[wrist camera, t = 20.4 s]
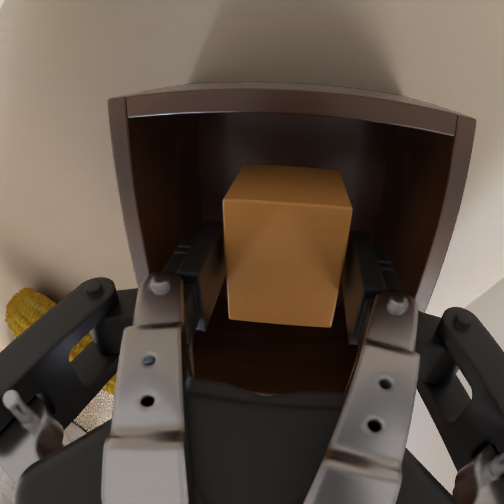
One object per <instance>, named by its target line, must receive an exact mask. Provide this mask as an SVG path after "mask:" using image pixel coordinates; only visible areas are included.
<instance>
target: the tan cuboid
mask: <svg viewBox="0 0 504 504" xmlns="http://www.w3.org/2000/svg"><path fill="white" fill-rule="evenodd" d="M352 211H353V209H352V206H351V203H350V200H349V197H348V194H347V191H346V188H345V185H344V183H343V180H342V177H341V174H340V171H339V170H333V169H322V168H309V167H294V166H277V165H255V164H244V165H243V167H242V168H241V170H240V172H239V173H238V175H237V177H236V178H235V180H234V182H233V183H232V185H231V187H230V188H229V190H228V192H227V193H226V195H225V197H224V199H223V224H224V244H225V263H226V280H227V297H228V313H229V319H232V320H241V321H251V322H262V323H273V324H285V325H298V326H312V327H327V328H329V327H331V326H332V321H333V317H334V312H335V307H336V303H337V298H338V293H339V288H340V282H341V277H342V272H343V266H344V261H345V255H346V249H347V243H348V237H349V231H350V224H351V217H352Z"/></svg>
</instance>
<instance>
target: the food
mask: <svg viewBox="0 0 504 504" xmlns="http://www.w3.org/2000/svg"><path fill="white" fill-rule="evenodd" d="M55 305H56V303H55V302H53V301H52V300H51V299H50V298H48V297H46V296H45V295H43V294H41V293H39V292H37V291H35V290H33V289H31V288H24V289H23V290H20V291H19V293H16V294H15V295H14V296H13V297H12V299H11V300H10V301H9V303H8V304H7V306H6V319H5V320H6V321H7V323H8V326H9V328H10V330H11V331H12V332H13V334H14V335H15V336H16V337H18V336H19V335H20V334H22V333H23V332H24V331H25V330H26V329H27V328H29V327H30V326H31V325H32V324H33V323H34V322H36V321H37V320H38V319H39V318H40V317H41V316H43V315H44V314H45V313H46V312H47V311H49V310H50V309H51V308H52V307H54V306H55ZM92 341H93V339H92V336H91V334H90V332H89V333H88V334H87V335H86V336H84V337H83V338H82V339H81V340H80V341H79V342H78V343H77V344H76V345H75V346H74V347H73V348H72V349H71V351H70V353H69V362H71V361H72V360H73V359H74V358H75V357H76V356H77V355H78V354H79V353H80V352H81V351H82V350H83V349H84V348H85V347H86V346H87V345H88V344H89V343H90V342H92ZM116 377H117V373H116V374H115V375H114V376H113V377H112V378H111V379H110V380H109V381H108V383H107V384H106V385H105V386H104V387H103V388H102V389H103V390H105V391H107V392H108V394H113V395H114V393H115V385H116Z"/></svg>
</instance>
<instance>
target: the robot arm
mask: <svg viewBox="0 0 504 504" xmlns="http://www.w3.org/2000/svg"><path fill="white" fill-rule="evenodd" d="M394 270H395V269H394V266H393V264H392V261H391V258H390V256H389V254H388V253H387V252H386V251H385V250H384V249H383V248H382V247H381V246H374V245H373V244H372V241H371V238H370V235H369V233H368V232H362V231H349V237H348V243H347V249H346V255H345V261H344V266H343V272H342V277H341V284H342V291H343V299H344V307H345V316H346V325H347V334H348V344H353V345H358V349H359V351H358V354H357V357H356V360H355V363H354V366H353V369H352V372H351V375H350V378H349V381H348V384H347V387H346V390H345V392H344V393H343V392H318V391H303V392H296V393H289V394H281V395H272V396H262V395H259V394H256V393H253V392H250V391H247V390H244V389H241V388H239V387H236V386H233V385H230V384H227V383H224V382H217V381H210V380H204V379H198V378H196V375H195V361H194V345H193V339H192V338H193V335H194V333H195V330H199V331H206V329H207V326H208V323H209V320H210V318H211V315H212V312H213V309H214V306H215V304H216V301H217V298H218V295H219V292H220V290H221V287H222V284H223V281H224V278H225V276H226V263H225V244H224V224H223V221H212V220H206V221H205V223H204V225H203V226H202V228H201V230H200V231H199V232H191V233H190V234H188V235H187V236H185V237H184V238H183V239H182V240H181V242H180V243H179V245H178V247H177V248H176V249H175V251H174V253H173V254H172V256H171V257H170V259H169V260H168V262H167V263H166V265H165V267H164V268H163V270H162V271H161V272H155V273H152V274H150V275H148V276H146V277H145V278H144V279H143V280H142V281H141V282H140V284H139V288H136V289H128V290H118V291H116V288H115V285H114V282H113V281H112V280H110V279H108V278H104V277H99V278H93V279H90V280H87V281H85V282H84V283H82V284H81V285H80V286H78V287H77V288H76V289H75V290H73V291H72V292H71V293H70V294H68V295H67V296H66V297H65V298H63V299H62V300H61V301H60V302H58V303H57V304H56V305H55V306H54V307H52V308H51V309H50V310H49V311H47V312H46V313H45V314H44V315H43V316H41V317H40V318H39V319H38V320H37V321H36V322H34V323H33V324H32V325H31V326H30V327H29V328H27V329H26V330H25V331H24V332H23V333H22V334H20V335H19V336H18V337H17V338H16V339H15V340H14V341H13V342H11V343H10V344H9V345H8V346H7V347H6V348H5V349H4V350H3V351H1V352H0V467H1V468H2V469H3V470H4V472H5V473H6V474H7V475H8V476H9V478H10V479H11V480H12V481H13V482H14V483H15V485H16V487H15V491H14V499H13V502H14V504H504V352H503V350H502V349H501V348H500V346H499V345H498V344H497V342H496V341H495V340H494V339H493V337H492V336H491V335H490V333H489V332H488V331H487V329H486V328H485V327H484V326H483V325H482V323H481V322H480V321H479V320H478V318H477V317H476V316H475V315H474V314H473V313H471V312H470V311H468V310H466V309H463V308H459V307H451V308H448V309H447V310H446V311H445V312H444V313H443V316H442V318H440V317H436V316H433V315H429V314H426V313H423V312H421V311H419V310H418V304H417V302H416V301H415V299H414V298H413V297H411V296H410V295H409V294H407V293H405V292H403V291H402V288H401V285H400V282H399V280H398V277H397V274H396V271H394ZM89 332H90V334H91V336H92V339H93V341H92V342H90V343H89V344H88V345H87V346H86V347H85V348H84V349H83V350H82V351H81V352H80V353H79V354H78V355H77V356H76V357H75V358H74V359H73V360H72V361H71V362H69V353H70V351H71V349H72V348H73V347H74V346H75V345H76V344H77V343H78V342H79V341H80V340H81V339H82V338H83V337H84V336H86V335H87V334H88V333H89ZM459 369H460V370H461V372H462V374H463V375H464V377H465V378H466V380H467V381H468V383H469V385H470V386H471V389H472V400H471V399H470V397H469V395H468V394H467V392H466V390H465V389H464V387H463V385H462V384H461V382H460V380H459V379H458V377H457V376H456V373H457V371H458V370H459ZM116 373H117V377H116V385H115V393H114V402H113V412H112V419H110V420H108V421H107V422H105V423H103V424H102V425H100V426H98V427H97V428H95V429H93V430H92V431H90V432H88V433H86V434H85V435H83V436H81V437H80V438H78V439H76V440H74V441H73V442H71V443H69V444H67V445H65V446H64V444H63V442H62V441H63V437H64V430H65V429H66V428H67V427H68V426H69V425H70V424H71V422H72V421H73V420H74V419H75V418H76V417H77V416H78V415H79V414H80V412H81V411H82V410H83V409H84V408H85V407H86V406H87V405H88V404H89V402H90V401H91V400H92V399H93V398H94V397H95V396H96V395H97V394H98V392H99V391H100V390H101V389H102V388H103V387H104V386H105V385H106V384H107V383H108V381H109V380H110V379H111V378H112V377H113V376H114V375H115V374H116ZM416 388H417V390H418V392H419V394H420V396H421V398H422V399H423V401H424V403H425V405H426V407H427V409H428V411H429V413H430V415H431V417H432V419H433V421H434V423H435V425H436V427H437V429H438V431H439V433H440V435H441V437H442V439H443V441H444V444H445V446H446V448H447V450H448V452H449V454H450V456H451V458H452V461H453V463H454V465H455V467H456V469H457V471H458V473H457V476H456V479H455V487H454V489H453V496H452V495H451V494H450V493H449V492H448V491H447V490H446V489H445V488H444V487H443V486H442V485H441V484H440V483H439V482H438V481H437V480H436V479H435V478H434V477H433V476H432V474H431V473H430V472H429V471H428V470H427V469H426V468H425V467H424V466H423V465H422V464H421V463H420V462H419V461H418V460H417V459H416V458H415V457H414V456H413V455H412V454H411V453H410V452H409V450H408V449H407V448H406V443H407V438H408V433H409V428H410V423H411V418H412V412H413V407H414V400H415V394H416Z"/></svg>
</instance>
